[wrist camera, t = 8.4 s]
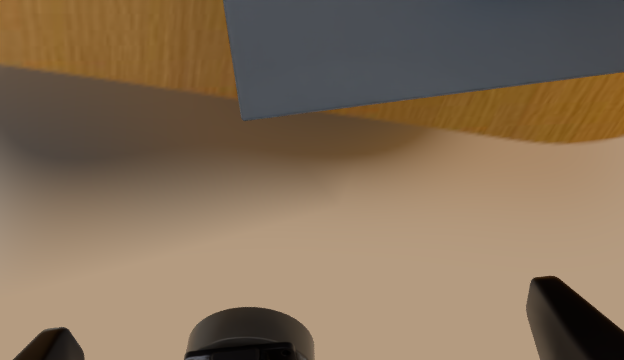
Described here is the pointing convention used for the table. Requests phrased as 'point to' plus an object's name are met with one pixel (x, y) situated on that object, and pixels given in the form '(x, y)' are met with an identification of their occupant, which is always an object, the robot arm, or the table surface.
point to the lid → (411, 49)
